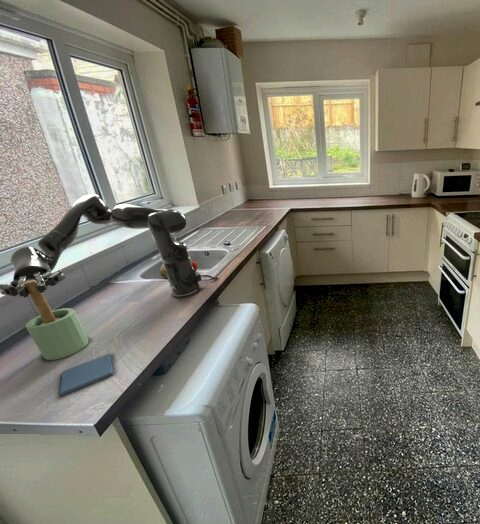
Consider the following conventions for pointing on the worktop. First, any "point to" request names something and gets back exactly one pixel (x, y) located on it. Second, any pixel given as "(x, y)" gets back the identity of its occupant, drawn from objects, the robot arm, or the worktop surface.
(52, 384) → the worktop surface
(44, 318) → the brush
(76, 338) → the green pot
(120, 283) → the worktop surface
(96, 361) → the mat
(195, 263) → the strawberry
